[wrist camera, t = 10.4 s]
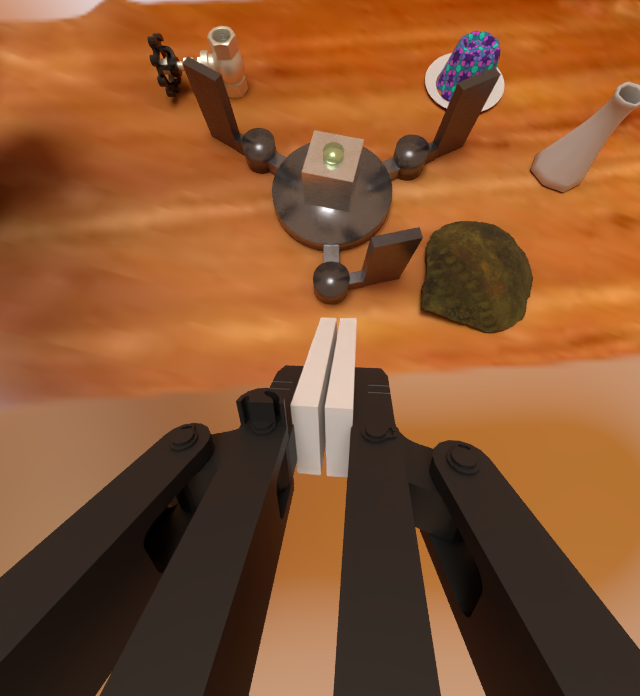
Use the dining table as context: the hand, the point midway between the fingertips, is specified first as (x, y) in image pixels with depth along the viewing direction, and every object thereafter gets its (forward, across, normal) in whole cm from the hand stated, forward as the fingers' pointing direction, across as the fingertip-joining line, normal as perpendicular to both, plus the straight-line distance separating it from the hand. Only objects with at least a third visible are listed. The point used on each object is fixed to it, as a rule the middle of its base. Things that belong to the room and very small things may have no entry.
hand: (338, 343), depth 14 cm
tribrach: (+33, -5, +8) cm, 34 cm away
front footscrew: (+24, +1, -3) cm, 24 cm away
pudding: (+47, +16, +21) cm, 54 cm away
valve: (+42, -23, +22) cm, 53 cm away
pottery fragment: (+26, +15, -4) cm, 31 cm away
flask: (+39, +28, +9) cm, 49 cm away
